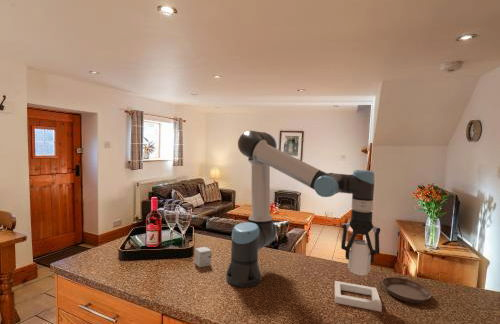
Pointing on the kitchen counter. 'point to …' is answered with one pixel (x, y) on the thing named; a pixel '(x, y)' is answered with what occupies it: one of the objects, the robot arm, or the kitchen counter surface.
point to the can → (359, 257)
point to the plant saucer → (406, 290)
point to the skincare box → (202, 256)
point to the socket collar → (355, 301)
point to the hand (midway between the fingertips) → (358, 268)
